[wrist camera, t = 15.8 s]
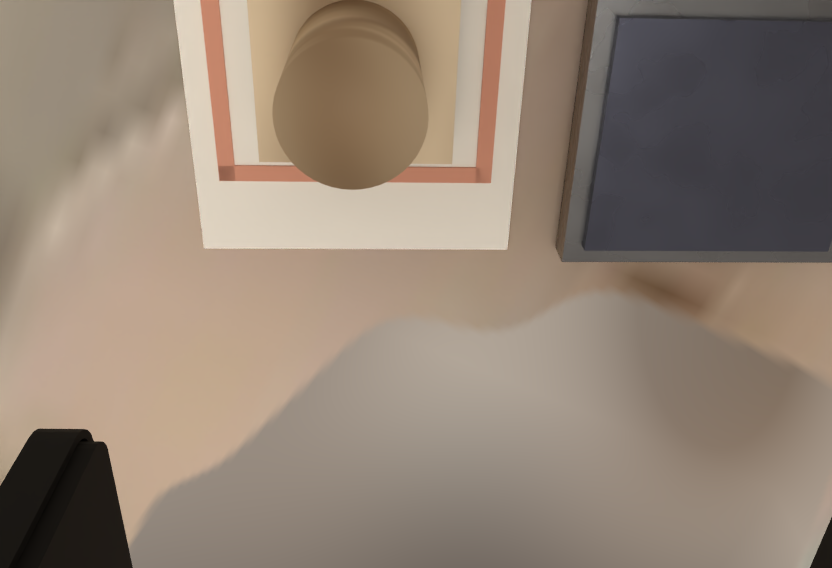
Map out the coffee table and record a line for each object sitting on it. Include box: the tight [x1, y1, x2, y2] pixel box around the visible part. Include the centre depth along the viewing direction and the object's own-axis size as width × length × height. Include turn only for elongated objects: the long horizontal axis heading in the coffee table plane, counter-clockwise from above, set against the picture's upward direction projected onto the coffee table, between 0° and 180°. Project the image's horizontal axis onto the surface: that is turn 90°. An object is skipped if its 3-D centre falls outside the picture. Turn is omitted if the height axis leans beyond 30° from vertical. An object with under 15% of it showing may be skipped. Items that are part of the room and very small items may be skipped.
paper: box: [173, 0, 532, 250], centre depth 27 cm, size 12×16×1 cm
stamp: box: [247, 0, 461, 190], centre depth 24 cm, size 6×6×8 cm
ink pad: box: [556, 0, 832, 262], centre depth 29 cm, size 11×10×2 cm
